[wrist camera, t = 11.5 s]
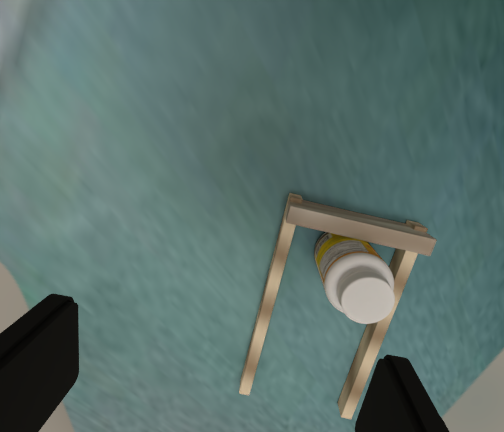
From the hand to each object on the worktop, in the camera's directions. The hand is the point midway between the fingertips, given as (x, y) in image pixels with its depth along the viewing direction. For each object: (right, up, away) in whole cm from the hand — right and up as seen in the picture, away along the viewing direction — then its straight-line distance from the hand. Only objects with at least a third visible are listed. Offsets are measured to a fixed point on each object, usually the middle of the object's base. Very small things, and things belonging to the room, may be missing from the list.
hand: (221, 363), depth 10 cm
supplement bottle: (+10, +1, +24) cm, 26 cm away
